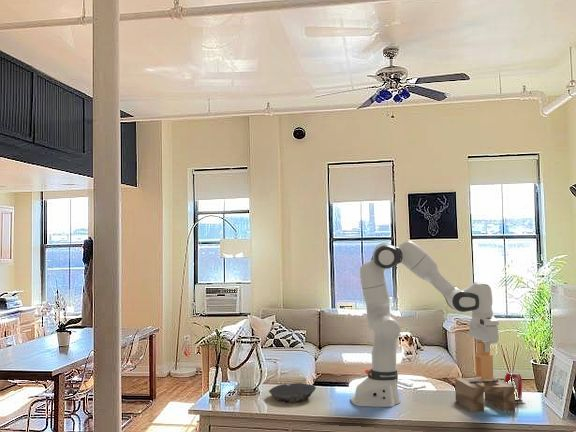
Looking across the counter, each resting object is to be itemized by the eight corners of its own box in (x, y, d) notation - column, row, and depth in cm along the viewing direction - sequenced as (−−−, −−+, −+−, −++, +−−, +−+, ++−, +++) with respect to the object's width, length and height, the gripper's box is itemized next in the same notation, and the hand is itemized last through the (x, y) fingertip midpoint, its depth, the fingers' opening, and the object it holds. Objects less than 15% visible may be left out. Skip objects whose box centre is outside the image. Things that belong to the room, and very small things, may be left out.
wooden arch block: (473, 411, 230) (472, 384, 231) (455, 400, 247) (455, 374, 247) (514, 410, 232) (514, 382, 233) (494, 398, 249) (494, 373, 250)
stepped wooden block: (482, 379, 237) (481, 344, 238) (475, 376, 243) (474, 341, 244) (493, 379, 237) (492, 343, 238) (486, 375, 244) (485, 341, 245)
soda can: (507, 400, 246) (506, 374, 247) (504, 396, 253) (503, 370, 254) (523, 401, 245) (523, 374, 245) (520, 397, 252) (519, 371, 252)
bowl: (313, 406, 238) (312, 394, 238) (264, 406, 242) (264, 395, 242) (319, 393, 259) (318, 382, 260) (274, 393, 263) (274, 382, 264)
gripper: (465, 316, 252) (466, 346, 251) (486, 322, 231) (487, 355, 231) (478, 315, 252) (478, 345, 252) (500, 322, 232) (501, 354, 231)
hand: (483, 350), depth 241 cm, fingers closed on stepped wooden block, 4 cm apart
